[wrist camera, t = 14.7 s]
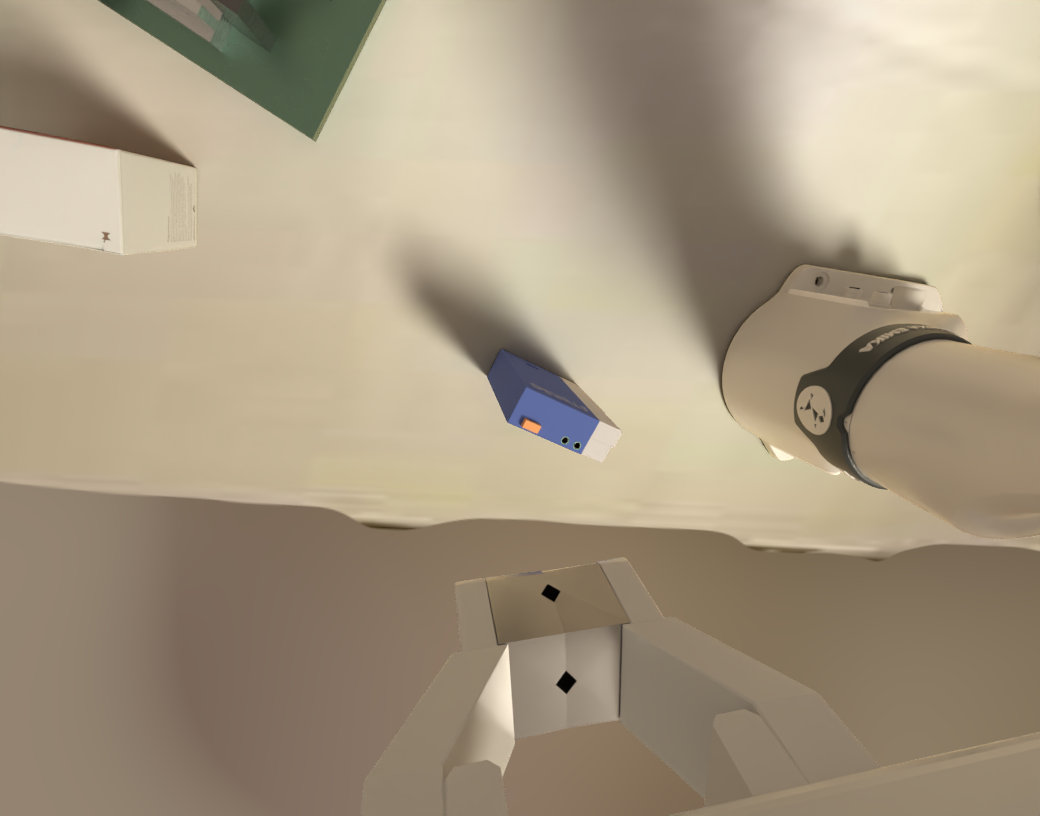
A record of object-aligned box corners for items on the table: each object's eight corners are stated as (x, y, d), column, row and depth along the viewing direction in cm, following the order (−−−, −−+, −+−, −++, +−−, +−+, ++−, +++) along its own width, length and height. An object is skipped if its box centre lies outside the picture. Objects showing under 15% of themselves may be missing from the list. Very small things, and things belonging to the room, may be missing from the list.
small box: (199, 167, 38) (122, 148, 28) (199, 249, 40) (126, 257, 30) (68, 142, 36) (-62, 111, 26) (73, 228, 38) (-48, 230, 28)
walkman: (486, 376, 47) (507, 424, 35) (501, 348, 46) (527, 387, 35) (563, 411, 49) (606, 467, 38) (578, 385, 48) (626, 433, 37)
